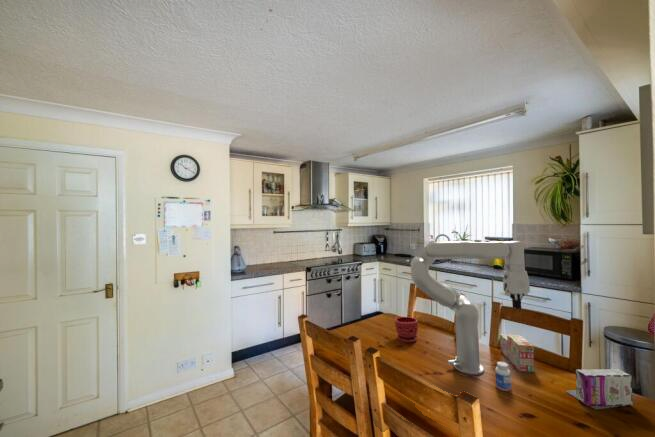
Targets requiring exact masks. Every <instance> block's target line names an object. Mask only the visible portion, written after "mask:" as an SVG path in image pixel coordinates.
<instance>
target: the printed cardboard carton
mask: <svg viewBox="0 0 655 437" xmlns="http://www.w3.org/2000/svg"><path fill="white" fill-rule="evenodd" d="M499 340H500V344H499V345H500V352H501V353H502V354H503V355H504V357H506V358H507V360H509V361H510V363H511V364H513V366H514V365H515V366H514V367H515V368H516V369H517V370H518V371H519V372H524V373H526V372H527V373H535V351H534V344H532V343H530V341H528V340H527V339H526V338H524V337H523V336H522V335H519V334H509V333H508V334H507V333H500V334H499Z"/></svg>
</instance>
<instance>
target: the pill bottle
mask: <svg viewBox="0 0 655 437" xmlns="http://www.w3.org/2000/svg"><path fill="white" fill-rule="evenodd" d="M494 370H495V371H494V372H495V374H494V375H495V386H496V388H497V389H498V390H501V391H504V392H509V391H511V390H512V378H511V376H512V375H511V371H510V369H509V364H508V363H507V362H504V361H497V362H496V367H495V368H494Z"/></svg>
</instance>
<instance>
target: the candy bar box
mask: <svg viewBox="0 0 655 437" xmlns="http://www.w3.org/2000/svg"><path fill="white" fill-rule="evenodd" d="M575 381H576V383H575V385H576V386H575V387H576V389H575V390H576V392H577V398H576V399H577V400H578V399H579V400H578V401H580V402H582V404H584V405H586V406H588V407H590V406H619V407H627V406H629V407H632V406H633V384H632V383H633V382H632V375H631V374H629V373H627V372H625V371H623V370H621V369H618V368H615V369H614V368H613V369H611V368H609V369H604V368H603V369H602V368H600V369H595V368H594V369H589V368H588V369H575Z"/></svg>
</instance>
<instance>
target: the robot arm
mask: <svg viewBox="0 0 655 437" xmlns="http://www.w3.org/2000/svg"><path fill="white" fill-rule="evenodd" d="M524 247H525V246H524V243H523V241H520V240H511V241H510V240H509V241H498V240H490V241H488V242H485V241H484V242H483V241H482V242H481V241H479V242H477V241H476V242H475V241H470V240H469V241H467V240H455V241H434V240H433V241H430V242H429V243H427V244H426V246H425V247H424V248H423V249H421V250H420V251H419V252H418V253H416V255H415V256H414V257H413V258H412V259H411V261H410V276H411V280H412V282H413V283H414V286H416V287H417V288H418V289H419V290H420V291H421V292H423V293H424V294H426V295H427V296H428V297H430V298H431V299H433V301H435V302H436V303H438V304H439V305H441V306H442V307H445V308H449V309H450V310H451V311H453V312H454V313H455V338H456V340H455V342H456V356H454V359H448V360H447V362H446V363H447V364H448V365H449V366H450V365H453V367H454V369H456V370H457V371H459V372H461V373H463V374H467V375H472V376H473V375H481V374H483V373H484V368H485V367H483V365H482V364H481V362H480V347H479V346H480V345H479V341H480V340H479V318H480V316H479V311H478V307H477V306H476V305H475V304H474V303H473V301H471V300H470V299H469V298H467V297H466V296H465V295H463V294H462V293H460V292H459V291H458V290H456V289H455V288H453V287H451V286H449V285H448V284H446V283H442V282H440V281H438V280H437V279H436V278H434V277H433V276H431V275H430V272H429V270H430V266H431V265H432V264H433V263H434V262H435V261H436V260H453V259H454V260H455V259H456V260H458V259H459V260H463V259H464V260H489V259H490V260H496V259H499V260H500V259H504V266H503V269H504V271H503V278H502V279H503V280H502V286H503V291H504V296H507V297H510V299H511V302H512V303H511V304H512V308H514V309H516V310H521V309H522V301H523V297H524V296H528V294H529V293H530V292H531V286H530V278H529V276H528V271H527V270H526V264H525V262H526V261H525V248H524Z"/></svg>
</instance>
